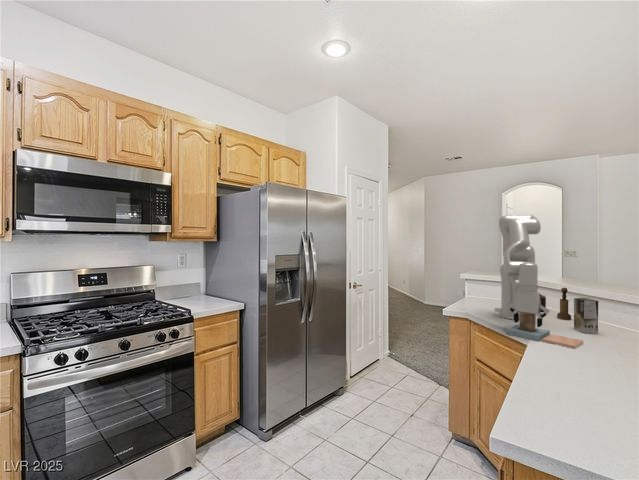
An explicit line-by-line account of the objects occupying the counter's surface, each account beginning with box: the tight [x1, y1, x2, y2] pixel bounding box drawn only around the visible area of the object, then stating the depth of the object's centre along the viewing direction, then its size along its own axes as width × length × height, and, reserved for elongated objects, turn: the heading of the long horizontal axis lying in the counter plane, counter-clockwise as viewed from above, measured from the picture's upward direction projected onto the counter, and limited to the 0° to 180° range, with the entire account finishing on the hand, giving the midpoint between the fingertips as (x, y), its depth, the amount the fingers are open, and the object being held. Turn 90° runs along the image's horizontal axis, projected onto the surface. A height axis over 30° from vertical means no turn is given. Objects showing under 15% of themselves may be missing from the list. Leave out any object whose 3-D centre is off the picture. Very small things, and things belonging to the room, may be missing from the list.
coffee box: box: [573, 297, 600, 335], centre depth 162 cm, size 9×6×16 cm
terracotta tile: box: [541, 333, 584, 349], centre depth 144 cm, size 12×12×1 cm
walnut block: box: [519, 312, 537, 332], centre depth 155 cm, size 5×5×11 cm
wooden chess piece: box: [556, 287, 572, 321], centre depth 188 cm, size 7×6×18 cm
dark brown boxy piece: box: [537, 284, 547, 313], centre depth 208 cm, size 16×11×18 cm
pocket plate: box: [505, 323, 551, 342], centre depth 155 cm, size 14×14×2 cm
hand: (527, 324), depth 155 cm, fingers open, 9 cm apart
